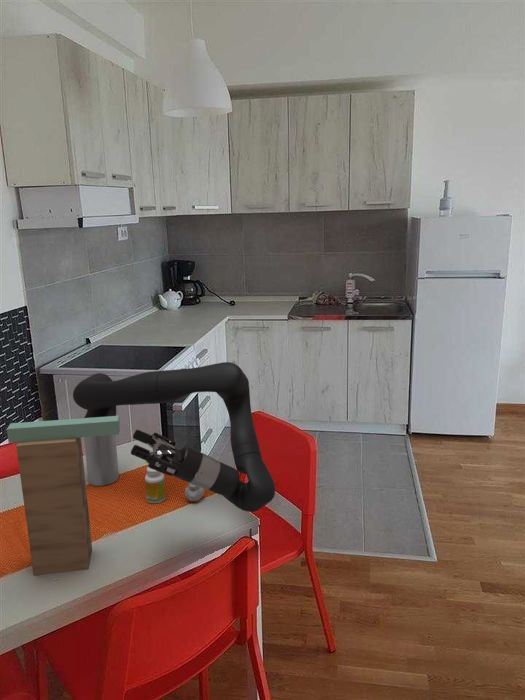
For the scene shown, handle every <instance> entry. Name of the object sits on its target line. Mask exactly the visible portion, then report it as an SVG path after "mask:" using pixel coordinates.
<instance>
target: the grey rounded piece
mask: <svg viewBox="0 0 525 700" xmlns="http://www.w3.org/2000/svg"><path fill="white" fill-rule="evenodd" d="M187 485H188V486H186V487H185V489H184V496H185V498H186V499H187V501H190V502H198V501H200V500H201V499H202V498H203V496H204V493H205V488H201V487H198V486H195V485H193V484H191V483H188V482H187Z"/></svg>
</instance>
